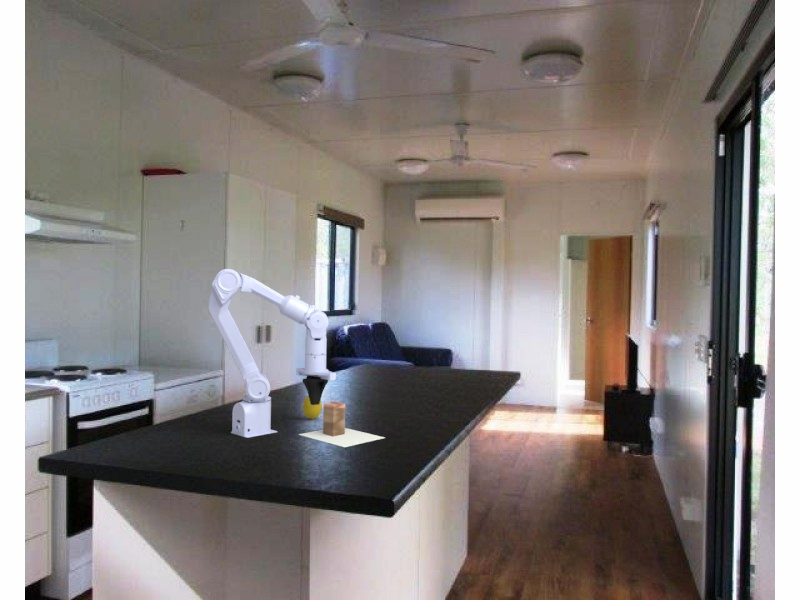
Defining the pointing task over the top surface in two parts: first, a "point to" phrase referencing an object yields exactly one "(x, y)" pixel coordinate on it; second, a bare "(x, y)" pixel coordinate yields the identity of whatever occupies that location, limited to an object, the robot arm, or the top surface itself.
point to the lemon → (311, 409)
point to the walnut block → (334, 419)
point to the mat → (343, 437)
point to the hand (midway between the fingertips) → (315, 404)
